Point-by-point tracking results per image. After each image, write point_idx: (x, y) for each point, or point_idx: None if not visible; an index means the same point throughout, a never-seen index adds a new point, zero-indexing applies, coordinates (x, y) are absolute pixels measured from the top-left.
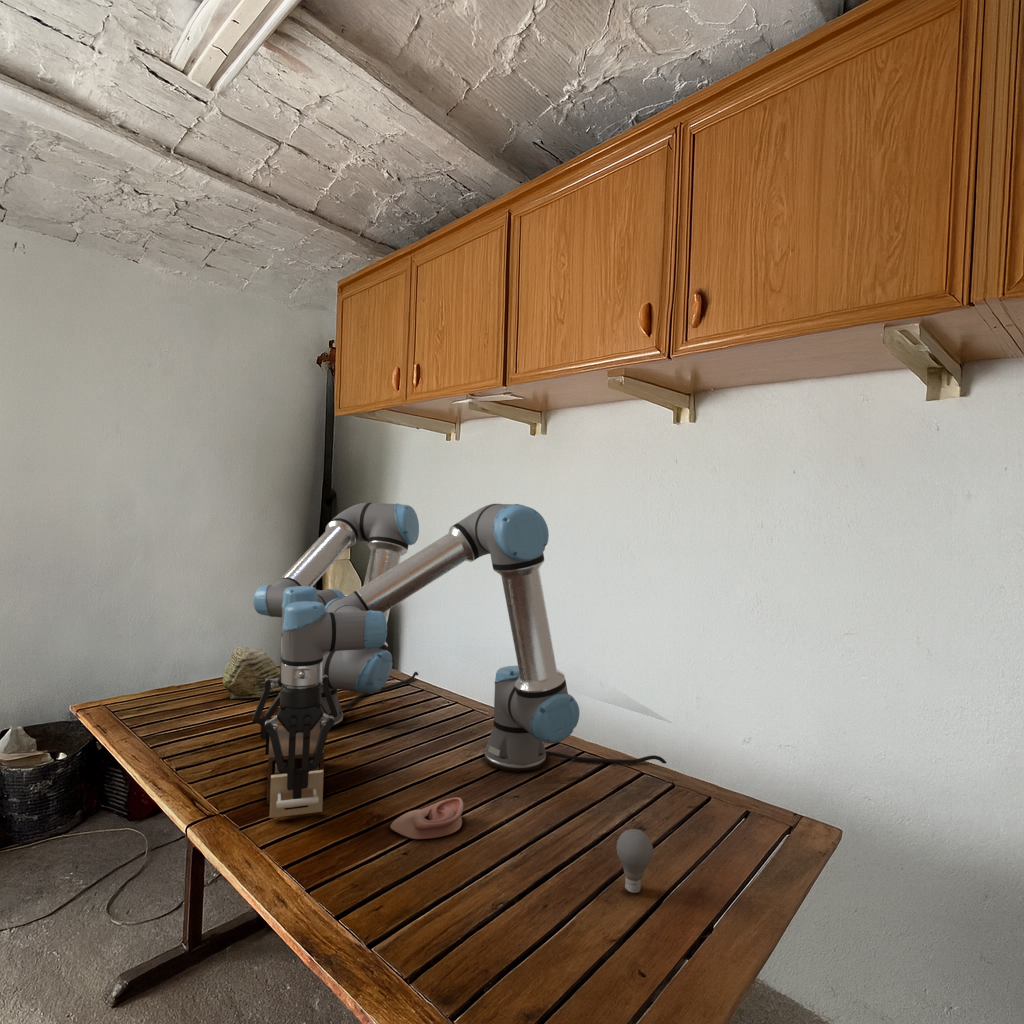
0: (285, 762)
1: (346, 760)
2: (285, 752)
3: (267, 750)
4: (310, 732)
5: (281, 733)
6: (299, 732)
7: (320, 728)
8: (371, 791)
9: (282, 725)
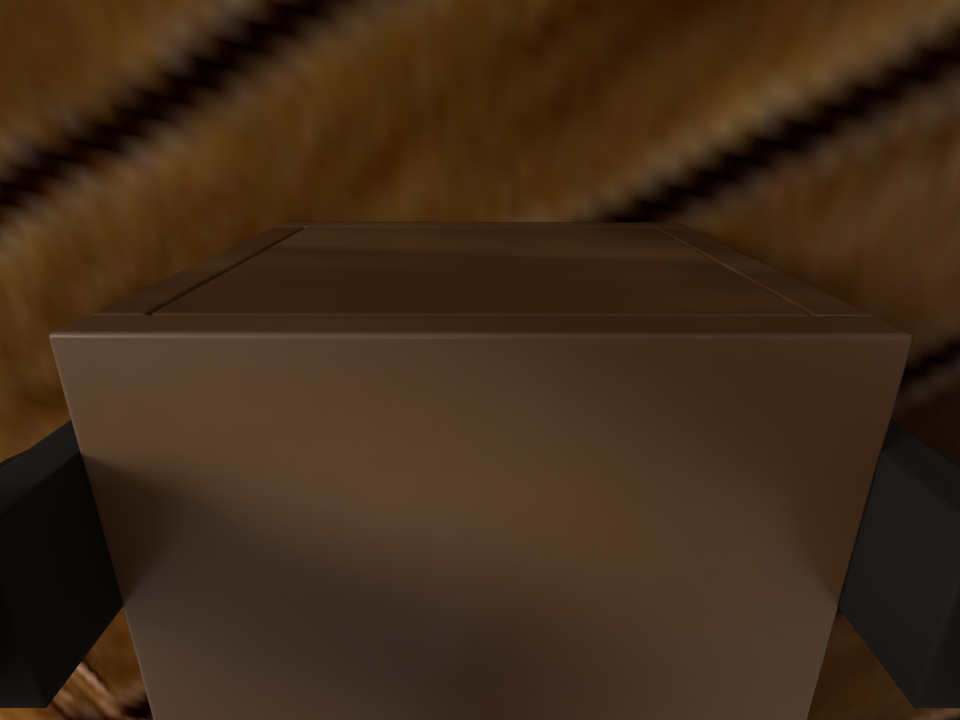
0: None
1: (913, 211)
2: None
3: None
4: (677, 682)
5: (289, 647)
6: (533, 657)
7: (845, 589)
8: (886, 680)
9: (261, 336)
